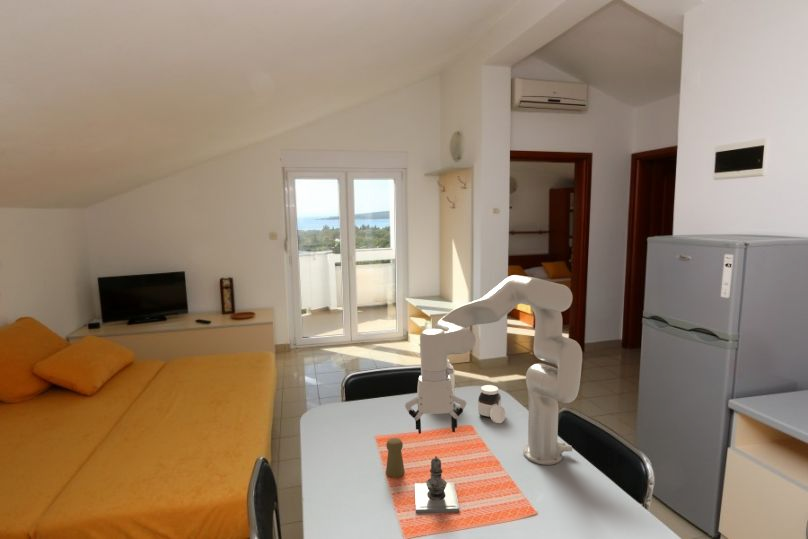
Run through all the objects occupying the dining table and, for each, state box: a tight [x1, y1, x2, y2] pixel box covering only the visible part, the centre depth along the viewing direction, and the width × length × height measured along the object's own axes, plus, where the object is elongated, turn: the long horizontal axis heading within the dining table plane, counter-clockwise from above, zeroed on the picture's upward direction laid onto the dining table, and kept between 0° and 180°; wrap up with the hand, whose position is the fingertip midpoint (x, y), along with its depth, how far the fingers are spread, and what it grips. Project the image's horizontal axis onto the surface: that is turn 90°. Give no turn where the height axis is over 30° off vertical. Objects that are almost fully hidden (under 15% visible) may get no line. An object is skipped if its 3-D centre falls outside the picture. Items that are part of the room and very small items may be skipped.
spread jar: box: [477, 384, 507, 424], centre depth 180 cm, size 12×11×12 cm
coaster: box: [414, 482, 460, 514], centre depth 130 cm, size 12×12×1 cm
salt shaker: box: [425, 455, 447, 501], centre depth 129 cm, size 6×6×12 cm
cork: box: [385, 437, 405, 479], centre depth 143 cm, size 6×6×11 cm
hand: (436, 430), depth 128 cm, fingers open, 9 cm apart
